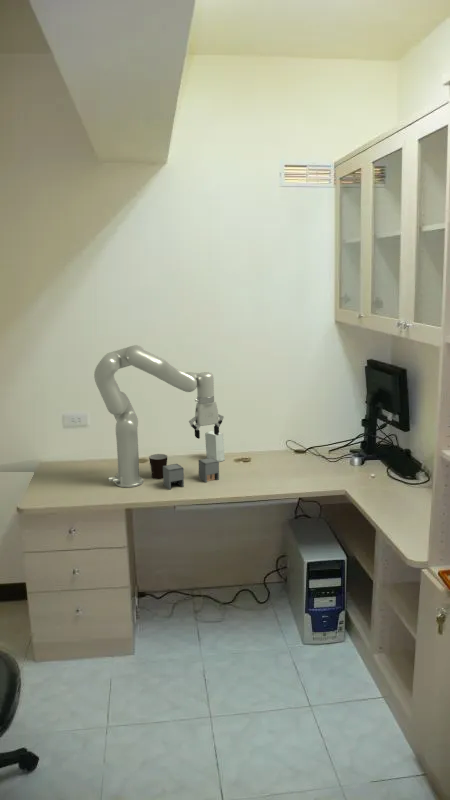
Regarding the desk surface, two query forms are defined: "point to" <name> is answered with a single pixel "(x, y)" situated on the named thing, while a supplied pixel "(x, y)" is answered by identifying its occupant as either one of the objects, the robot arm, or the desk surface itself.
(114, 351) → the robot arm
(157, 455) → the coffee mug
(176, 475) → the cover left
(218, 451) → the skincare box
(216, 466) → the cover right
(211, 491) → the desk surface
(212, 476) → the letter cube
